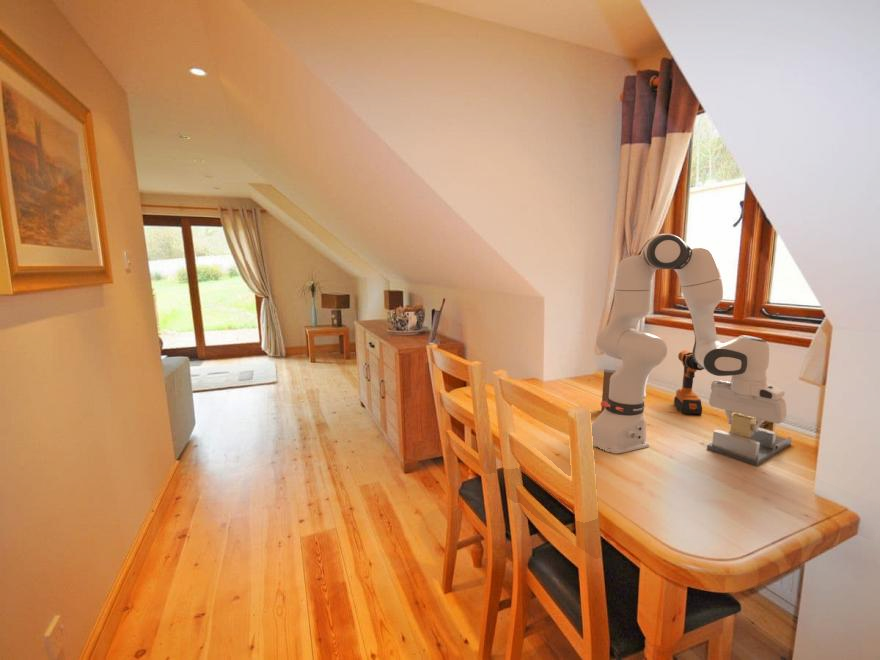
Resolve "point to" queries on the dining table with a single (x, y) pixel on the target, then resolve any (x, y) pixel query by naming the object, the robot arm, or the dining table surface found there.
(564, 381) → the dining table surface
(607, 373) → the brown tall block
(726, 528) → the dining table surface
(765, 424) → the sliding jaw
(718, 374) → the robot arm
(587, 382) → the dining table surface
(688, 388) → the power drill
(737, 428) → the brass block
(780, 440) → the vise base
